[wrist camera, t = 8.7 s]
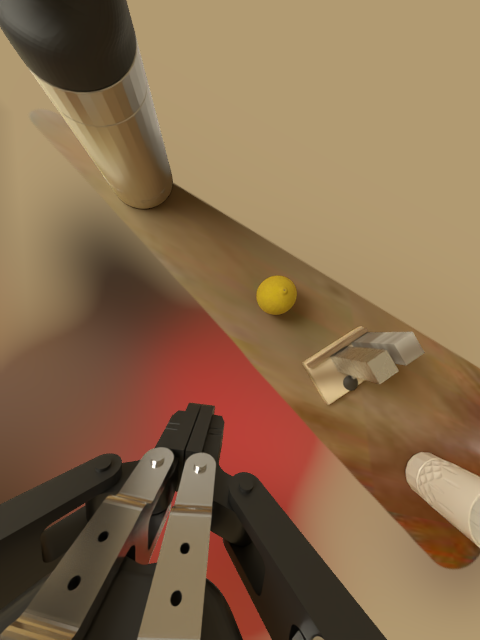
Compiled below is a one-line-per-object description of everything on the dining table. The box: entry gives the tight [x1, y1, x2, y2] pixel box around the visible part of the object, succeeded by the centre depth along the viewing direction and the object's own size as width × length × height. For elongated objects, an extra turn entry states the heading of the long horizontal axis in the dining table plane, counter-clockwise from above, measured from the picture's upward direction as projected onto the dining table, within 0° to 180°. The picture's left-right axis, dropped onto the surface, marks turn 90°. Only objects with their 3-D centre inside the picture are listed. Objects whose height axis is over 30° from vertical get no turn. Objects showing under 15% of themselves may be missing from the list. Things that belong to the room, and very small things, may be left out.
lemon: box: [256, 276, 297, 315], centre depth 33 cm, size 6×6×8 cm
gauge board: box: [302, 326, 425, 405], centre depth 33 cm, size 8×12×10 cm, turn 121°
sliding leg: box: [330, 346, 399, 384], centre depth 32 cm, size 5×3×9 cm, turn 31°
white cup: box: [405, 452, 480, 548], centre depth 33 cm, size 8×8×10 cm
